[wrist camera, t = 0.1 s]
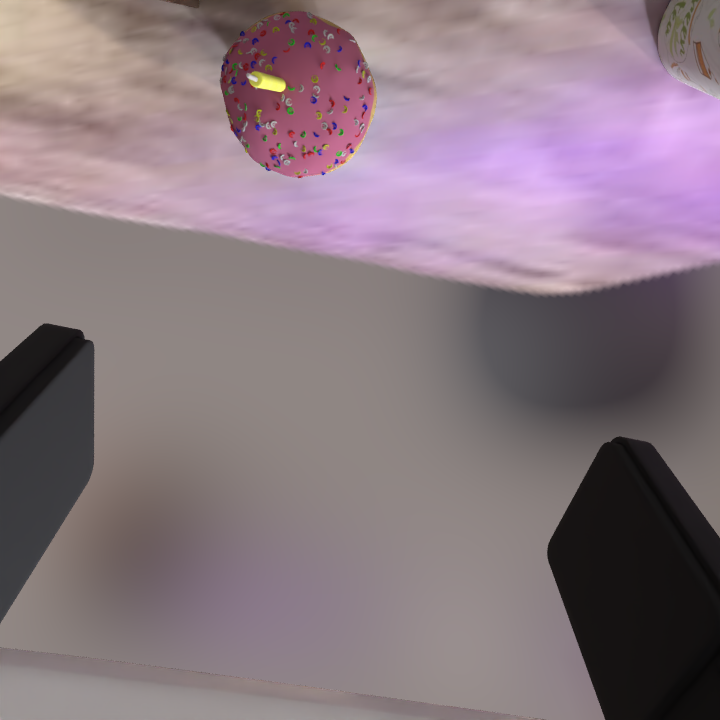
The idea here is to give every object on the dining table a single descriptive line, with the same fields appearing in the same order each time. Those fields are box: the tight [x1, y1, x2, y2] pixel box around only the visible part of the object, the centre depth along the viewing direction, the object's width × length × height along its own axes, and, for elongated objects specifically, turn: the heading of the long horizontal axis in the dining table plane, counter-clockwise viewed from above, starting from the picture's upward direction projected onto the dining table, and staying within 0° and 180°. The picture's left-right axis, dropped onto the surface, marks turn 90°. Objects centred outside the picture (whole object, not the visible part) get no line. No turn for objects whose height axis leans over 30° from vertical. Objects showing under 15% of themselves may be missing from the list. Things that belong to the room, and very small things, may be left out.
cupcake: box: [220, 11, 377, 178], centre depth 31 cm, size 9×8×12 cm
